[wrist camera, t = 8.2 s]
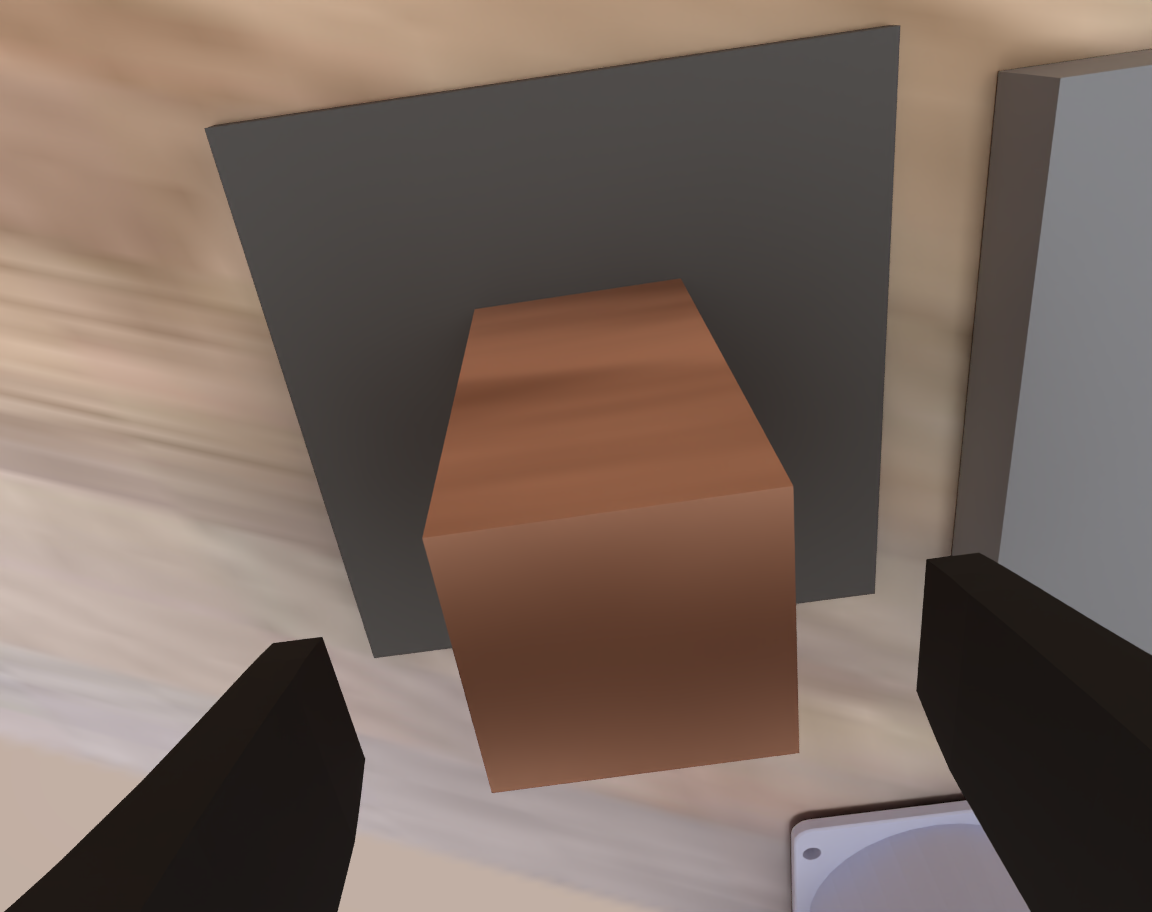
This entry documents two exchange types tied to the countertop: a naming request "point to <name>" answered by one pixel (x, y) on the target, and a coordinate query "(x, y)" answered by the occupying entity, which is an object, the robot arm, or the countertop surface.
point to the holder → (1066, 342)
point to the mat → (579, 271)
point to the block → (613, 544)
